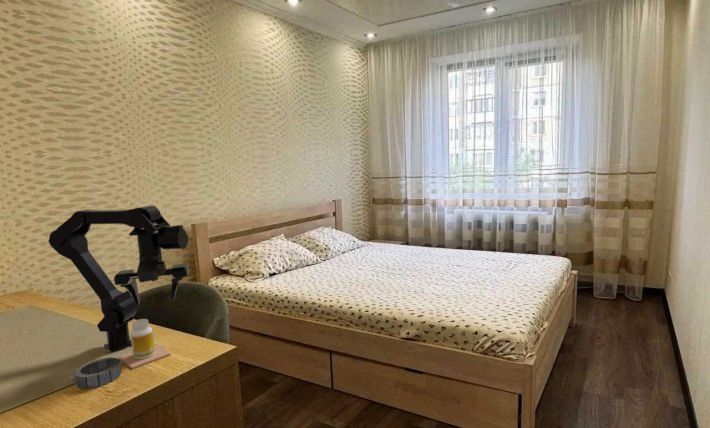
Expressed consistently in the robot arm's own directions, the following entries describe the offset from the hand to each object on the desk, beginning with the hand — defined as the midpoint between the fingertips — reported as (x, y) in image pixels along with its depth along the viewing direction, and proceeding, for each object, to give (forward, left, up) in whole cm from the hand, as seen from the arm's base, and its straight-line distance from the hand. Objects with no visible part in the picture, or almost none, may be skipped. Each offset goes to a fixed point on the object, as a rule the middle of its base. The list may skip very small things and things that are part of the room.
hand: (156, 302), depth 119 cm
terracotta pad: (+4, -6, -13) cm, 15 cm away
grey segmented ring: (+7, -18, -13) cm, 23 cm away
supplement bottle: (+4, -6, -13) cm, 15 cm away
